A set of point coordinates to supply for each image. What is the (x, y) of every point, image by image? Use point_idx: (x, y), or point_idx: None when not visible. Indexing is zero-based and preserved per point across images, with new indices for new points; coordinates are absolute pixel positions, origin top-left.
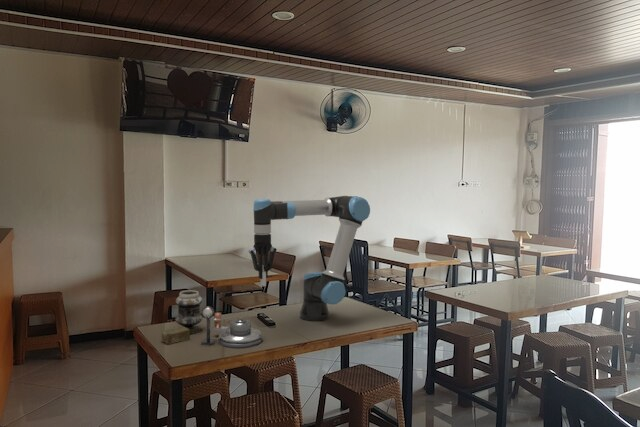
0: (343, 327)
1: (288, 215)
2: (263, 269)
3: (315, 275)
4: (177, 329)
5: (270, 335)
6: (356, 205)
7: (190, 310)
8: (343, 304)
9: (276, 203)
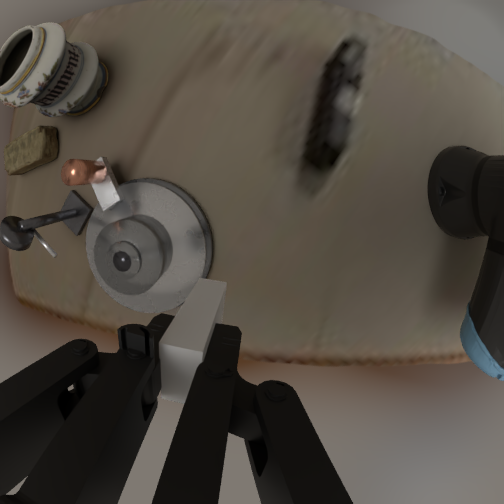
0: (441, 315)
1: None
2: (198, 367)
3: None
4: (22, 149)
5: (249, 258)
6: None
7: (32, 102)
8: None
9: None
